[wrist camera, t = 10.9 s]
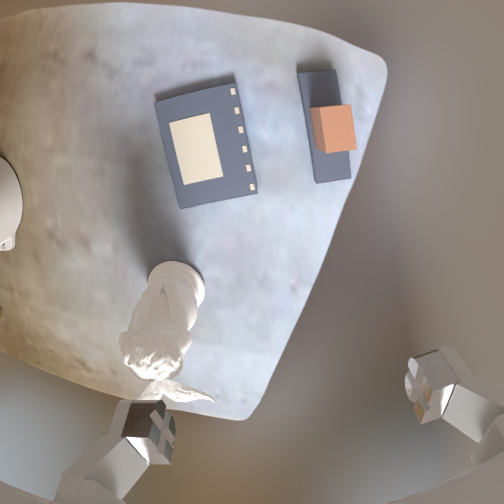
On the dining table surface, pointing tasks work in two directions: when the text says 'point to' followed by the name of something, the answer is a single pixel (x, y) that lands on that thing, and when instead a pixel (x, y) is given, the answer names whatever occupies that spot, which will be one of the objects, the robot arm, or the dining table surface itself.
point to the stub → (327, 125)
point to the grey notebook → (206, 146)
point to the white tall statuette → (164, 331)
